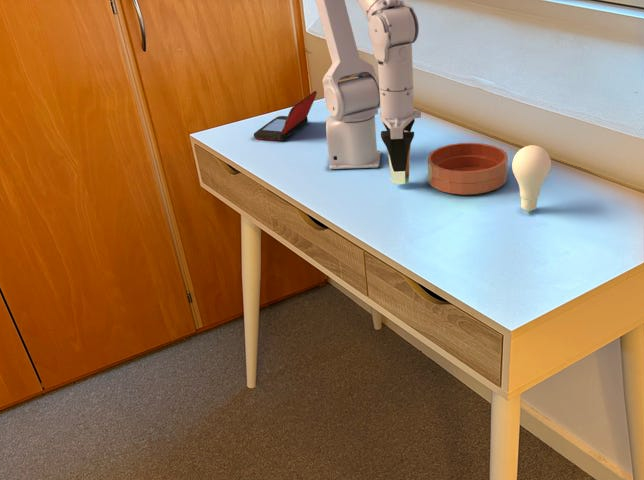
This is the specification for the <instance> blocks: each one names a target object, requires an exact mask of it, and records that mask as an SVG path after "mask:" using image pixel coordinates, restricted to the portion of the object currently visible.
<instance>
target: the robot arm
mask: <svg viewBox="0 0 644 480" xmlns="http://www.w3.org/2000/svg"><path fill="white" fill-rule="evenodd" d="M356 2H357V3H358V5H359V7H360V8H361V11H362V12H363V14H364V17H366V19H367V22H368V27H367V31H368V36H369V39H370V43H371V45H372V49H373V55H374V59H375V60H376V61H377V73H376V70H375V66H374V65H373V64H371V63H370V62H368V61H366V60H364V59H363V58H361V57H360V55H359V52H358V48H357V47H358V46H357V43H356V40H355V35H354V32H353V28H352V24H351V20H350V16H349V12H348V10H347V9H348V8H347V5H346V1H345V0H315V4H316V8H317V12H318V15H319V19H320V24H321V26H322V30H323V34H324V37H325V41H326V45H327V49H328V53H329V56H330V60H331V65H330V67H329V69H328V70H327V71H326V73H325V74H324V75H323V78H322V81H321V82H322V86H323V93H324V96H323V97H324V98H323V99H324V103H325V107H326V109H327V111H328V113H329V114H330V116H327V117H326V121H325V134H326V145H327V154H328V161H329V162H328V163H329V169H330V170H345V169H347V170H348V169H369V168H370V169H371V168H373V169H375V168H379V167H380V161H381V150H378V144H377V131H376V128H377V127H376V115H378V114H379V120H380V121H381V122H382V125H383V126H384V127H385V129H386V130H381V131H380V139H381V141H382V142H383V143H384V145H385V147H386V151H387V150H388V152H387V154H388V153H389V156H390V160H391V164H392V168H393V171H394V172H400V171H405V170H406V166H407V158H408V151H409V147H410V144H411V145H412V141H413V139H414V137H415V131H412V129H413V126H414V124H415V120H416V119H421V117H422V111H421V110H420V109H419V110H416V109H415V95H414V69H413V68H414V66H413V65H414V64H413V44H414V43H415V42H417V41H418V37H419V34H420V33H419V31H420V27H419V26H420V25H419V20H418V16H417V14H416V11H415V9H414V7H413V6H412V5H410V4H407V3H405V2H404V0H356ZM377 74H378V75H377ZM379 109H380V112H379ZM404 130H405V131H408V132H404Z"/></svg>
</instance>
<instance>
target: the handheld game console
mask: <svg viewBox="0 0 644 480" xmlns="http://www.w3.org/2000/svg"><path fill="white" fill-rule="evenodd" d="M317 93H318V91H316V90H314V91H313V92H311V93H310V94H308V95H307V96H306V97H304V98H303V99H301V100H300V101H299V102H297V103H296V104H295V105H293V106H292V107H291V108H290V110H289V113H288V115H279V116H276V117H275V118H273V119H272V120H270V121H269V122H267V123H266V124H264V125H263V126H262V127H260V128H259V129H258V130H256V131H255V132H254V133H253V138H254V139H256V140H257V139H258V140H267V141H279V142H285V141H286V140H287V139H288V138H289V137H290V136H291V135H293V134H294V132H296V131H298V130H300V129H301V128H302V127H304V125H306V124H308V121H309V119H308V115H309V114H310V111H311V108H312V106H313V104H314V102H315V99H316V97H317Z"/></svg>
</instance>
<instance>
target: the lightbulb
mask: <svg viewBox="0 0 644 480" xmlns="http://www.w3.org/2000/svg"><path fill="white" fill-rule="evenodd" d="M511 162H512V163H511V168H512V169H511V170H512V173H513V175H514V177H515V179H516V182H517V184H518V188H519V196H520V201H521V202H520V206H521V209H522V210H523V211H525V212H528V213H531V212H532V211H534V210H536V208H537V205H538V200H539V199H538V198H539V197H540V191H541V188H542V186H543V184H544V182H545V180H546V179H547V177H548V175H549V174H550V171H551V168H552V159H551V157H550V155H549V153H548V151H546V150H545V148H543V147H542V146H539V145H535V144H531V145H530V144H529V145H525V146H523V147H522V148H520V149H519V150H518V151H517V152H516V154H514V156H513V159H512V161H511Z"/></svg>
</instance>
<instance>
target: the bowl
mask: <svg viewBox="0 0 644 480" xmlns="http://www.w3.org/2000/svg"><path fill="white" fill-rule="evenodd" d="M508 165H509V156H508V153H507V152H506V151H505V150H504V149H503V148H500V147H498V146H496V145H492V144H487V143H481V142H458V143H452V144H447V145H443V146H440V147H436V149H434V150H432V151H431V152H429V154H428V155H427V182H428V184H429V186H431V187H432V188H434V189H435V190H438V191H440V192H444V193H446V194H447V193H448V194H453V195H460V196H461V195H462V196H463V195H464V196H469V195H471V196H472V195H479V194H484V193H489V192H492V191H494V190H497V189H499V188H501V187H502V186H504V185H505V184H506V182H507V180H508V169H509V168H508V167H509V166H508Z"/></svg>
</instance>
